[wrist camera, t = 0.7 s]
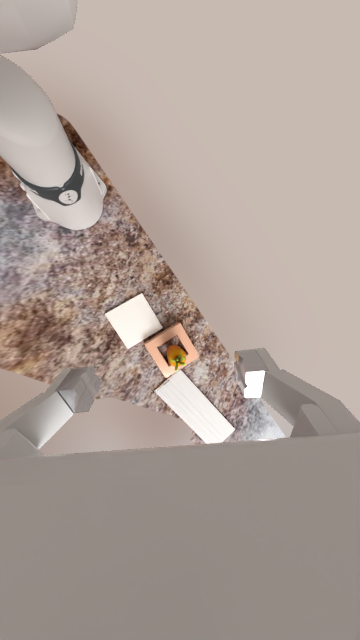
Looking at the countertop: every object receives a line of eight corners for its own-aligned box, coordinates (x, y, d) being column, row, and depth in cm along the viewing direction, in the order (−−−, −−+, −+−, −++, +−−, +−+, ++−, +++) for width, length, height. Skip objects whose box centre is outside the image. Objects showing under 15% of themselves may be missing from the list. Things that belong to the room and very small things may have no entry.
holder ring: (144, 342, 51) (144, 344, 48) (177, 321, 53) (180, 323, 50) (164, 373, 53) (165, 378, 50) (196, 353, 55) (199, 356, 52)
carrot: (168, 358, 53) (177, 378, 39) (160, 345, 52) (166, 361, 38) (181, 350, 54) (195, 366, 39) (173, 337, 53) (185, 349, 38)
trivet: (105, 313, 48) (104, 314, 48) (142, 293, 50) (142, 293, 49) (128, 348, 50) (127, 349, 50) (162, 327, 52) (162, 327, 51)
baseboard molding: (208, 450, 60) (232, 426, 61) (212, 457, 57) (237, 432, 58) (150, 392, 54) (178, 366, 55) (150, 397, 51) (180, 370, 52)
